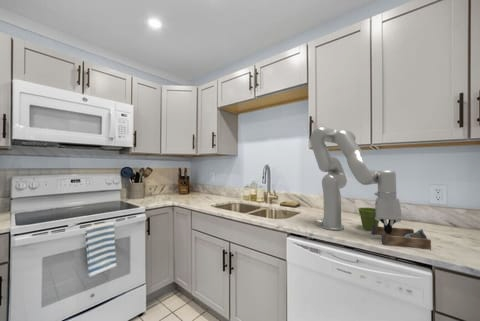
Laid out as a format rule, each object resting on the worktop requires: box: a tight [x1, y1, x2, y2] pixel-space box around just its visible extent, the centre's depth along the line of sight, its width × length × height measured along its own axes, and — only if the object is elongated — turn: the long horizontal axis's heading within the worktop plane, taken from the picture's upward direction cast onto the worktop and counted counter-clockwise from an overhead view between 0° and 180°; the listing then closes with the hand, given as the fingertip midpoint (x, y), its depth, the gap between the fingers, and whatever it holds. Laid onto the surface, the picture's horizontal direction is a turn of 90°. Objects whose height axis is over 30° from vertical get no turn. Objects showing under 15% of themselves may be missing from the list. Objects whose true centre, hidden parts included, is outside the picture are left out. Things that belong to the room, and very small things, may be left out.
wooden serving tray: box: [371, 224, 432, 250], centre depth 103 cm, size 18×17×5 cm
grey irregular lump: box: [404, 228, 428, 239], centre depth 101 cm, size 10×7×12 cm
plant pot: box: [357, 207, 380, 232], centre depth 122 cm, size 12×12×11 cm
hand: (388, 233), depth 104 cm, fingers closed
